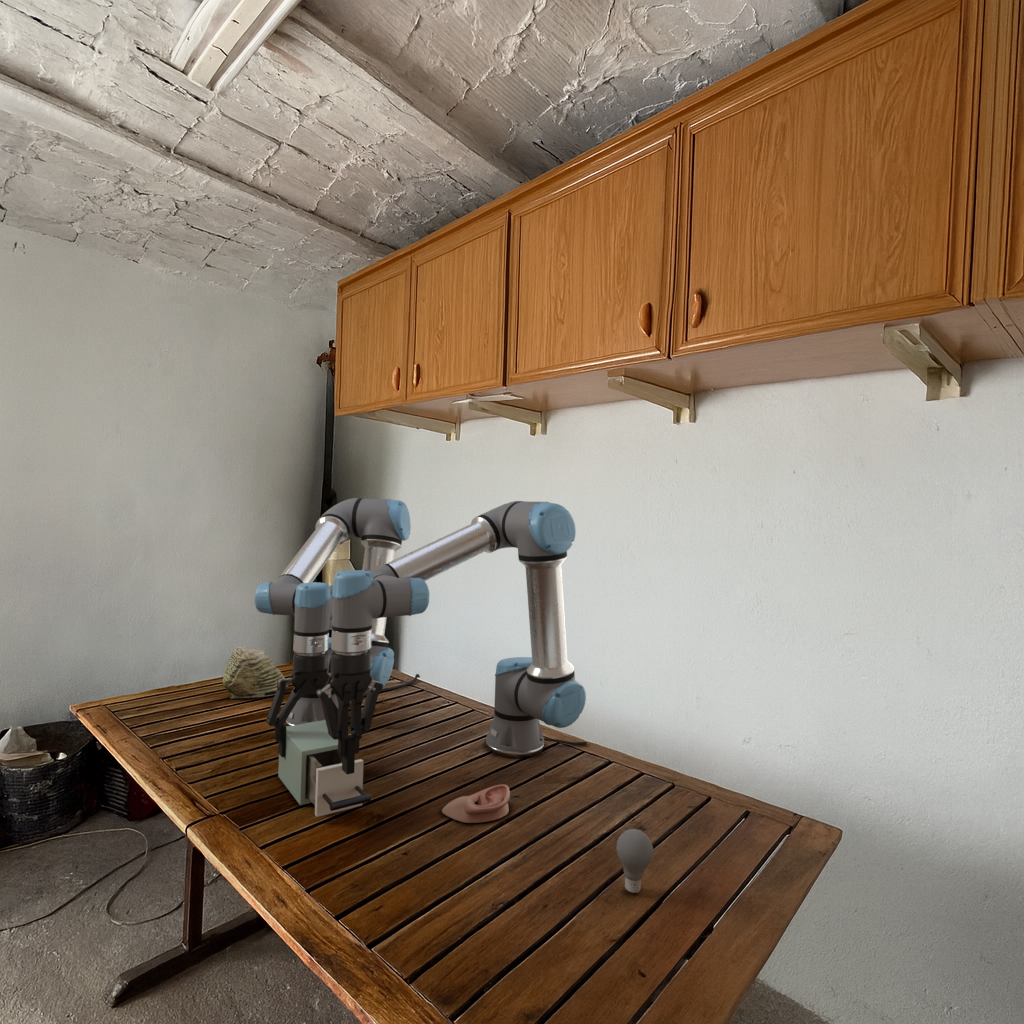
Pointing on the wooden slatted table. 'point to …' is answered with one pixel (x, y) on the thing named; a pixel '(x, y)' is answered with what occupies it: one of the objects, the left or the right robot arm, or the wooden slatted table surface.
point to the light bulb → (634, 857)
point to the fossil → (251, 674)
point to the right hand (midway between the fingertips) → (348, 771)
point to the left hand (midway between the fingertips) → (307, 750)
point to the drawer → (333, 783)
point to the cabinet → (302, 755)
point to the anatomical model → (480, 805)
